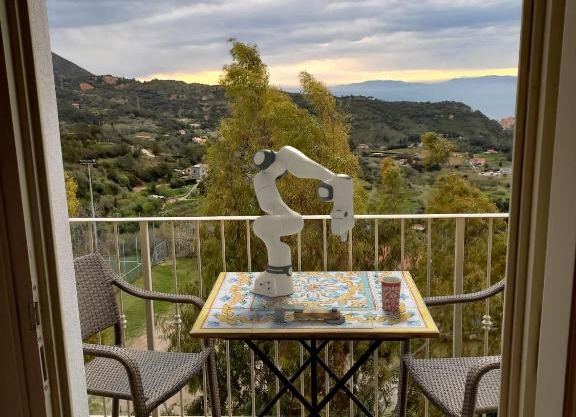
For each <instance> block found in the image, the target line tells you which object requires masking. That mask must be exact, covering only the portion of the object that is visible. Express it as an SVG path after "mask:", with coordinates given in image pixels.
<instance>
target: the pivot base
mask: <svg viewBox="0 0 576 417" xmlns="http://www.w3.org/2000/svg"><path fill="white" fill-rule="evenodd" d="M323 322H325V323H326V324H329V325H341V324H344V323H345V322H346V317H345V316H344V315H343V314H340V319H337V320H333V319H323Z"/></svg>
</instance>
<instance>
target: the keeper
mask: <svg viewBox="0 0 576 417" xmlns="http://www.w3.org/2000/svg"><path fill="white" fill-rule="evenodd" d="M304 309H305V304H304V303H286V301H276V302H275V305H274V309H273V311H274V312H273V314H274V323H285V320H286V318H287V312H290V313H291V312H292V313H294V312H303V310H304Z"/></svg>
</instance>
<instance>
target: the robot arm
mask: <svg viewBox="0 0 576 417" xmlns="http://www.w3.org/2000/svg"><path fill="white" fill-rule="evenodd" d="M252 163H253V166H254V167H255V168H256V169H257V170H259V172H258V173H257V174H255V175H254V176H253V181H252V182H253V188H254V191H255V192H254V193H255V196H256V198H257V201H258V205H259V207H260V209H261V210H262V211H263V212H265V213H267V214H264V215H261V216H258V217H256V218H255V219H254V220H253V224H252V228H253V229H252V231H253V232H254V234H255V236H256V237H257V238H259V239H261V240H262V242H264V244H265V247H266V249H267V259H268V263H266V264H264V266H263V269H265V270H264V271H263V272H262V273H260V274H259V275H258V276H256V278H254V284H253V285H252V286H251V287H250V288H249V292H250V293H252V294H253V293H254V294H256V295H257V294H258V295H262V296H265V297H270V298H276V297H283V296H289V295H292V294H294V293H295V291H296V289H295V287H294V283H293V263H292V254H291V252H292V250H291V248H290V246H289V244H287V243H285V242H282V241H281V237H285V236H290V235H291V236H292V235H295V234H298V233H301V232H302V230H303V229H304V225H305V223H304V222H305V221H304V217H303V216H302V214H300V213H299V212H296V211H294V210H292V209H291V208H290V207H289V206H288V205H287V204H286V203H285V202H284V201H283V199H282V197H281V194H280V191H279V190H278V189H279V188H278V187H277V184H276V182H278V181H280V180H281V179H282V178H285V176H287V174H288V173H290V174H291V175H292V176H294V177H296V178H299V179H315V180H318V181H319V180H320V181H321V182H320V183H319V184H318V186H317V188H316V189H317V190H316V192H317V197H318V198H319V200H320V201H321V202H325V203H326V202H327V203H328V202H329V203H330V202H333V207H332V210H331V212H330V213H329V217H330V218H331V219H330V225H331V226H330V228H331V233H332V235H333V236H340V242H346V240H348V239H347V238H348V237H347V236H348V233H349V232H348V231H349V230H351V229H353V228H354V227H355V222H356V221H355V213H354V200H353V198H354V181H353V178H352V177H351V176H350V175H348V174H346V173H335V172H333V171H331V170H330V169H329V168H327V167H325V166H324V165H323V164H320V163H318V162H316V161H314V160H312V159H311V158H309V156H306V155H305V154H304V153H302V151H301V150H299V149H297V148H294V147H292V146H290V145H284V146H283V147H281V148H280V149H279V150H278V151H275V150H274V149H263V148H262V149H258V150H257V151H255V153H254V155H253V157H252Z"/></svg>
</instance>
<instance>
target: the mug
mask: <svg viewBox="0 0 576 417" xmlns="http://www.w3.org/2000/svg"><path fill="white" fill-rule="evenodd" d="M402 281H403V280H402V278H400V277H398V276H384V277H381V278H380V282H381V284H380V285H381V288H380V289H381V307H382V309H383V311H387V312H396V311H399V309H400V298H401V287H402Z"/></svg>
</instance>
